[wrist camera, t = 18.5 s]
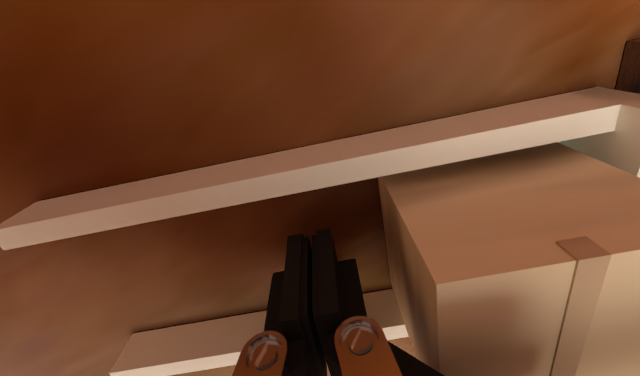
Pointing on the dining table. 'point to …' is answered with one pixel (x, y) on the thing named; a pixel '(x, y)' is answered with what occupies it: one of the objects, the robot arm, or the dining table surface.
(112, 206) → the bay
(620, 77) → the winch socket
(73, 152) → the dining table surface
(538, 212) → the cardboard box
